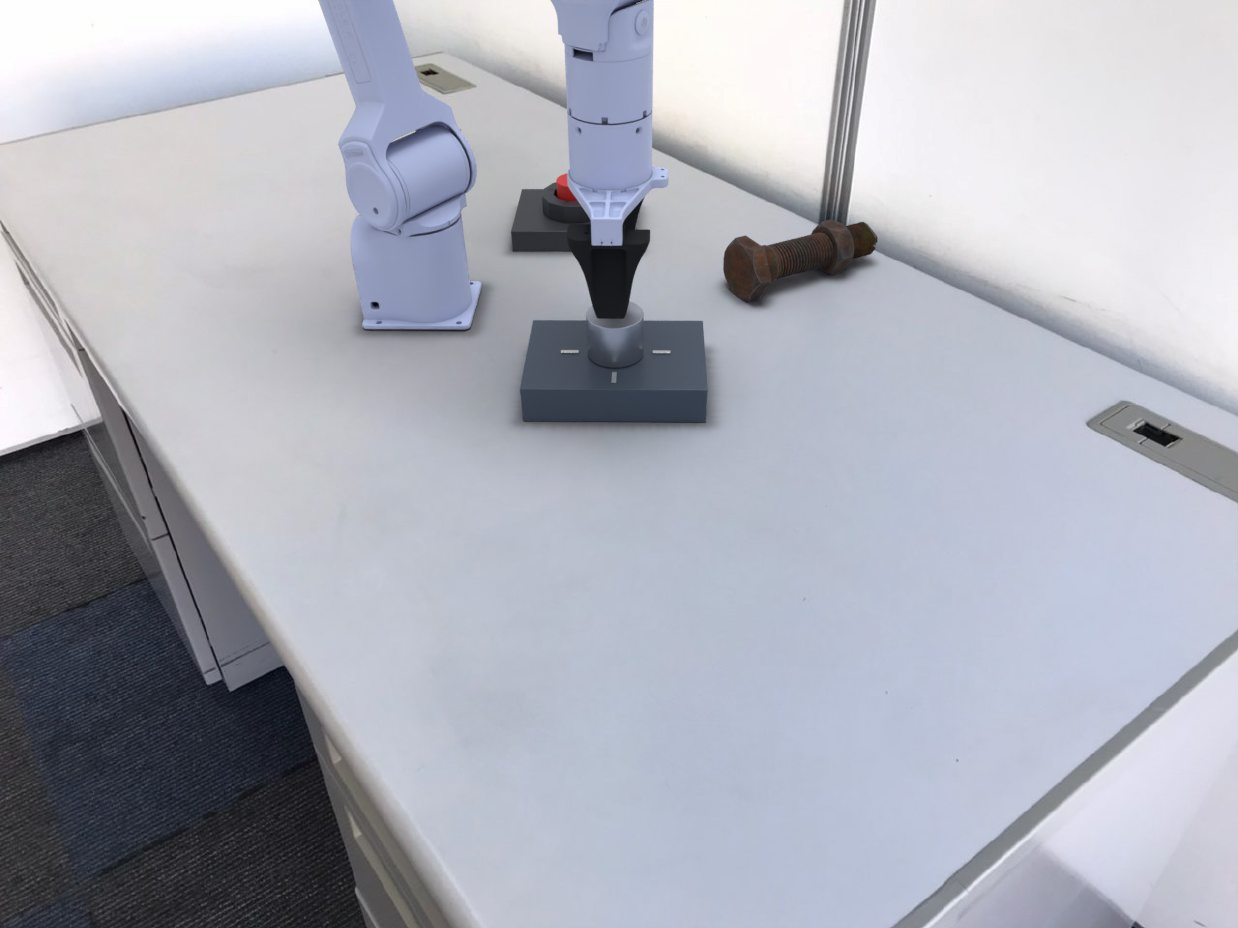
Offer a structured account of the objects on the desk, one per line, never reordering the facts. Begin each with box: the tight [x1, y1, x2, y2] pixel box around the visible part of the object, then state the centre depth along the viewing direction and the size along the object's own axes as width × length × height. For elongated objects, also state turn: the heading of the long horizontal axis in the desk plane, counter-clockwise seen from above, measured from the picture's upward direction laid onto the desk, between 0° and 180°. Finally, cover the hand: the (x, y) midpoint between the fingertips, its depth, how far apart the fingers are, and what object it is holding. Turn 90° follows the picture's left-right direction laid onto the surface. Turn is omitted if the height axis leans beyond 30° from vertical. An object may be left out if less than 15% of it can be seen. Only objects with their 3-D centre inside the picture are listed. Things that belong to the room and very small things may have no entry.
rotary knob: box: [585, 300, 645, 368], centre depth 77 cm, size 4×4×4 cm
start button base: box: [510, 181, 591, 253], centre depth 101 cm, size 12×10×4 cm
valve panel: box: [519, 319, 708, 423], centre depth 79 cm, size 14×10×3 cm
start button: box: [555, 172, 577, 201], centre depth 99 cm, size 4×4×2 cm
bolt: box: [722, 219, 879, 303], centre depth 92 cm, size 6×5×15 cm
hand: (612, 290), depth 75 cm, fingers open, 7 cm apart
